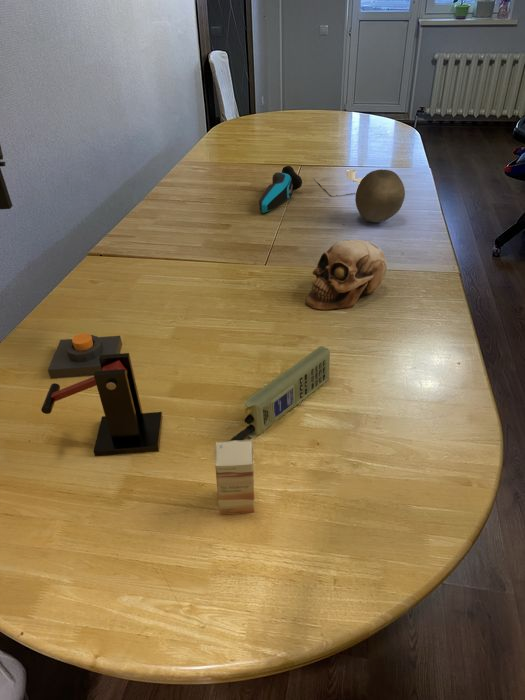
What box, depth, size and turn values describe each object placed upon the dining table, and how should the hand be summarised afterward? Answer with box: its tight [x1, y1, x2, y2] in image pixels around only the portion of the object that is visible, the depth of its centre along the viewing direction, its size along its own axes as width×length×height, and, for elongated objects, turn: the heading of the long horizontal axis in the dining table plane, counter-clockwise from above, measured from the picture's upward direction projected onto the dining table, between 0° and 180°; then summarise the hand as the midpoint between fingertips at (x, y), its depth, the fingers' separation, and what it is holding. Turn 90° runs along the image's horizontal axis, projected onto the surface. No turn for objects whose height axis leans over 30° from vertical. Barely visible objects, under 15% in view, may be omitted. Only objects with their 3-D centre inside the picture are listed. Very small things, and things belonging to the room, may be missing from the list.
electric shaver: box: [258, 165, 303, 214], centre depth 169 cm, size 9×26×10 cm
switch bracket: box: [92, 352, 163, 457], centre depth 80 cm, size 10×8×15 cm
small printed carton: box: [214, 439, 255, 515], centre depth 70 cm, size 5×4×10 cm
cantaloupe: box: [354, 168, 406, 223], centre depth 150 cm, size 14×14×15 cm
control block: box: [47, 334, 123, 380], centre depth 101 cm, size 12×10×4 cm
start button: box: [71, 333, 93, 351], centre depth 99 cm, size 4×4×2 cm
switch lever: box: [40, 360, 127, 415], centre depth 78 cm, size 13×6×2 cm, turn 95°
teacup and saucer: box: [345, 168, 362, 183], centre depth 184 cm, size 9×8×4 cm
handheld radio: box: [228, 346, 331, 441], centre depth 86 cm, size 7×3×25 cm
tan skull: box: [304, 239, 388, 311], centre depth 117 cm, size 16×17×13 cm
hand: (3, 207), depth 89 cm, fingers closed
